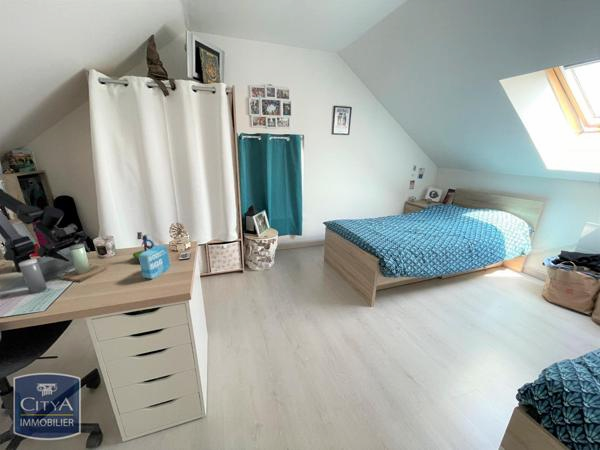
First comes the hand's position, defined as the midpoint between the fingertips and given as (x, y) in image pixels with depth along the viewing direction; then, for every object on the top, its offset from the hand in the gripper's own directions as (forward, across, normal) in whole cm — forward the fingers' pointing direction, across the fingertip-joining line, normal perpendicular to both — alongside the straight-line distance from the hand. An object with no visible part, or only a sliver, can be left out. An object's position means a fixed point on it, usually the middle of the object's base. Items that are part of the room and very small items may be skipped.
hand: (79, 256), depth 112 cm
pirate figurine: (+19, +20, -6) cm, 28 cm away
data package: (+29, +6, -16) cm, 34 cm away
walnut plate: (+6, 0, +6) cm, 9 cm away
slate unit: (-4, 0, +16) cm, 17 cm away
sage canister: (+5, 0, +6) cm, 8 cm away
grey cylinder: (+2, -15, +10) cm, 18 cm away
